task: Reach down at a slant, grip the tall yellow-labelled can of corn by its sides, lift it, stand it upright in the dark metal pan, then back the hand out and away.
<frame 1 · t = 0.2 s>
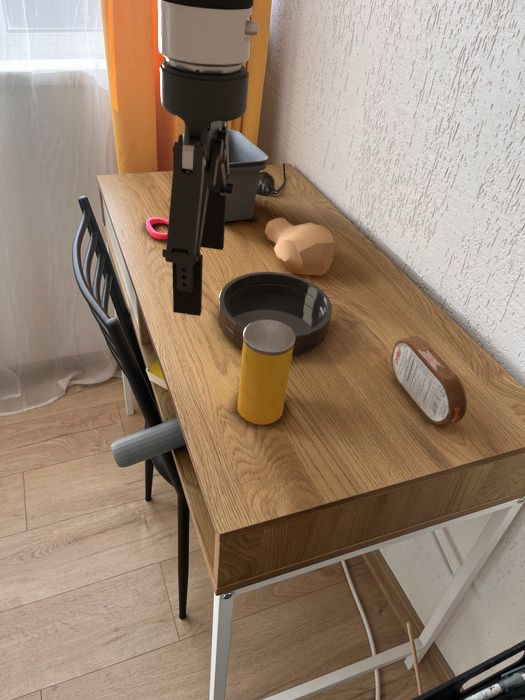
hand: (200, 277, 58), 22 cm above the table, tool pointing down, fingers open, 13 cm apart
pan: (273, 323, 89), on the table
tin: (417, 400, 78), on the table
corn can: (260, 407, 74), on the table
storage bin: (225, 206, 123), on the table
fitness band: (162, 231, 111), on the table
squash: (292, 258, 107), on the table
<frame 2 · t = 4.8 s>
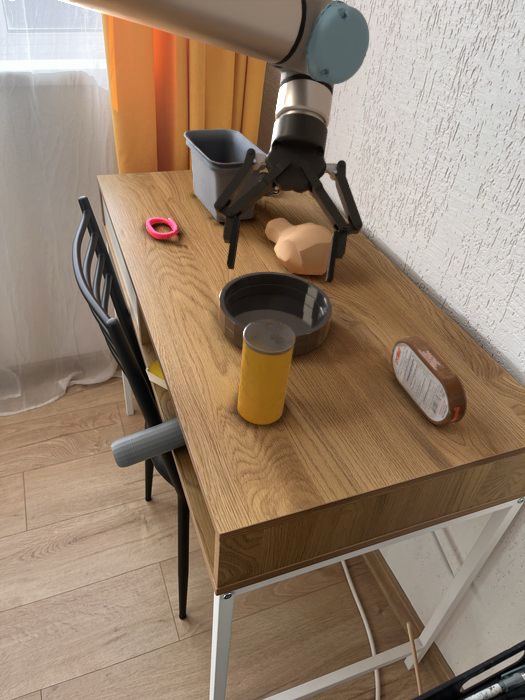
hand: (279, 274, 71), 16 cm above the table, tool tilted 45°, fingers open, 13 cm apart
nothing on the table moved.
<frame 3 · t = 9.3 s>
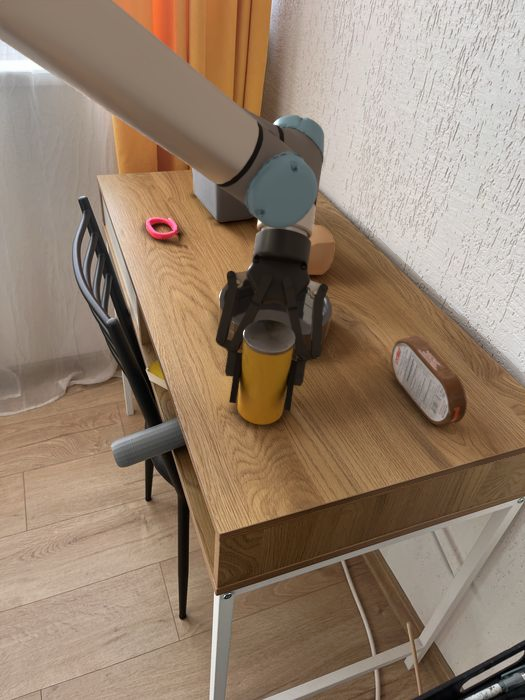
hand: (259, 406, 68), 4 cm above the table, tool tilted 45°, fingers closed on corn can, 6 cm apart
corn can: (260, 407, 74), on the table, touching gripper
everything else where it was.
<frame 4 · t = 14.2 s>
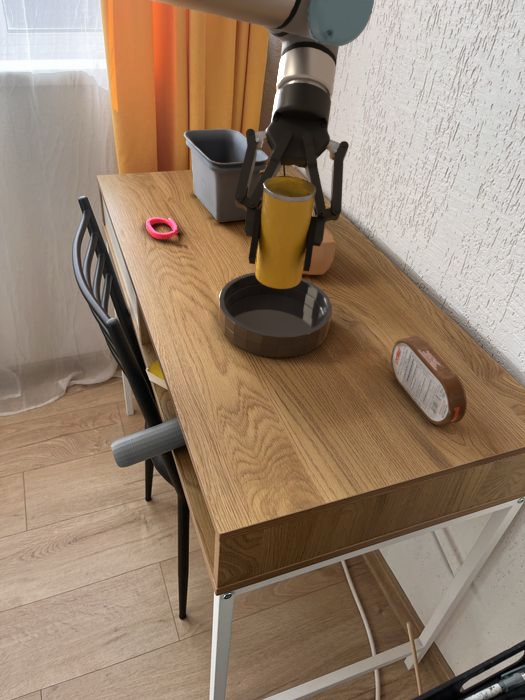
hand: (279, 264, 68), 19 cm above the table, tool tilted 45°, fingers closed on corn can, 6 cm apart
corn can: (278, 276, 73), point 15 cm above the table, touching gripper
everything else where it was.
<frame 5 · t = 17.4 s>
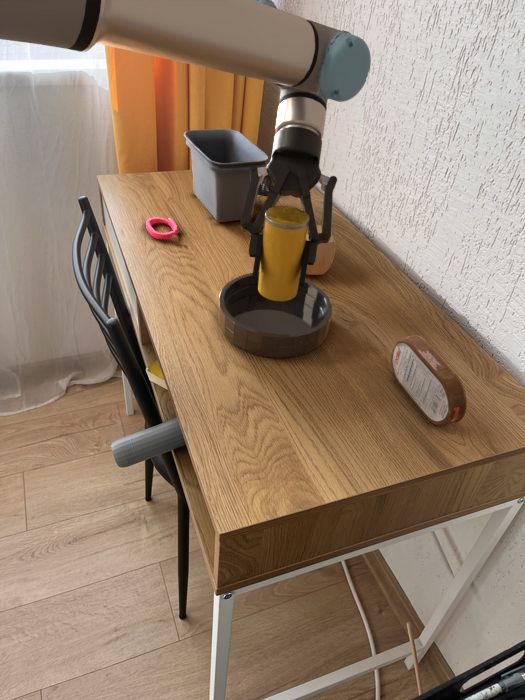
hand: (278, 281, 80), 11 cm above the table, tool tilted 45°, fingers closed on corn can, 6 cm apart
corn can: (277, 290, 85), point 7 cm above the table, touching gripper
everything else where it was.
when the fingers open (5 cm above the table, at t = 19.5 s): corn can stays where it is, resting on pan.
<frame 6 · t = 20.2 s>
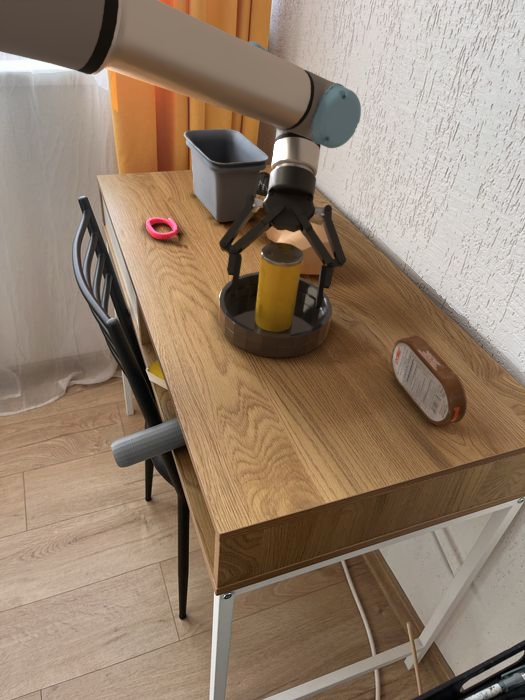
hand: (275, 301, 83), 6 cm above the table, tool tilted 45°, fingers open, 13 cm apart
corn can: (273, 320, 89), point 1 cm above the table, touching pan
everything else where it was.
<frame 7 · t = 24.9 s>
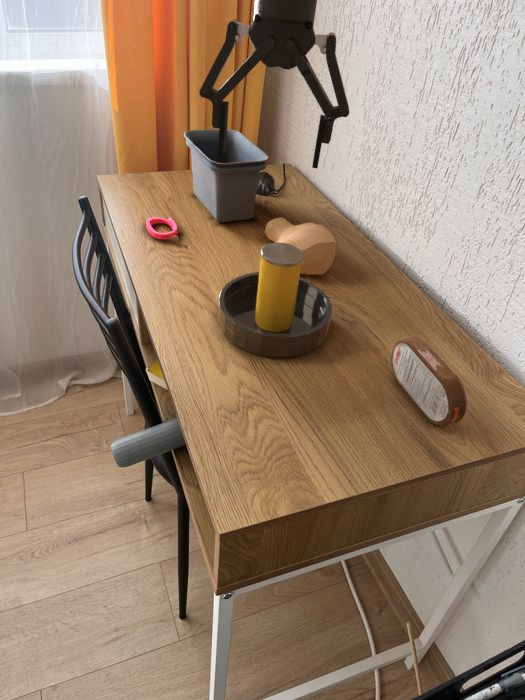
hand: (268, 158, 76), 26 cm above the table, tool pointing down, fingers open, 13 cm apart
nothing on the table moved.
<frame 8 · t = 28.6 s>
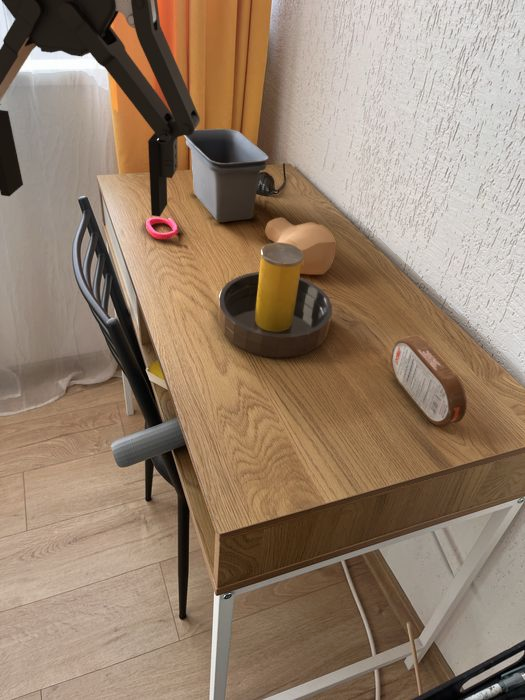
hand: (85, 200, 48), 32 cm above the table, tool pointing down, fingers open, 13 cm apart
nothing on the table moved.
at the end: corn can inside the target area in the pan (0.1 cm from its centre), point 0.6 cm above the pan's base; corn can tilted 0°; the gripper is holding nothing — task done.
